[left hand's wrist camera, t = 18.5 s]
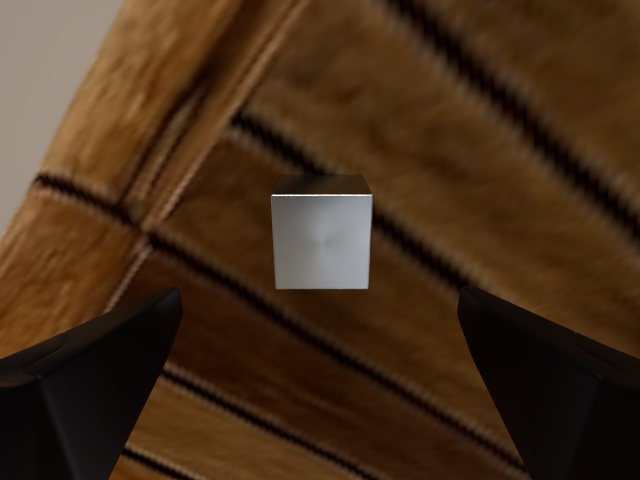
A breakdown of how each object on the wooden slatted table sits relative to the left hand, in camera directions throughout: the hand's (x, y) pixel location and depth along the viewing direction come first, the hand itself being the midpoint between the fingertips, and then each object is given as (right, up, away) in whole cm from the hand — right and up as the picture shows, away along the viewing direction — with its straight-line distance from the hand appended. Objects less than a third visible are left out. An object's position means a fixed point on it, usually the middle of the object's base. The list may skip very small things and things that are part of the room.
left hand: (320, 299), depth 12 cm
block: (0, +3, +9) cm, 9 cm away
